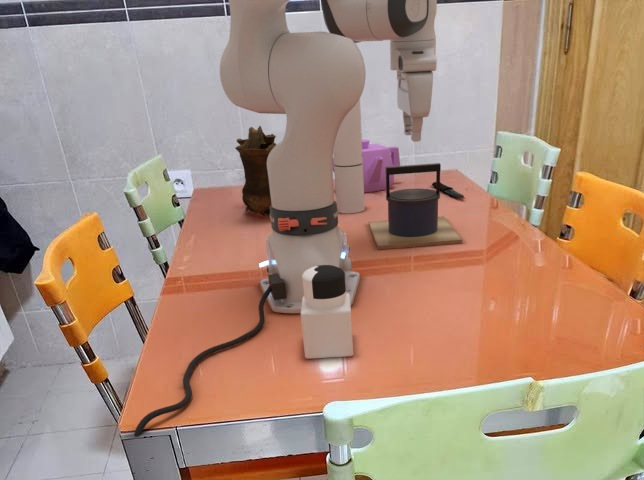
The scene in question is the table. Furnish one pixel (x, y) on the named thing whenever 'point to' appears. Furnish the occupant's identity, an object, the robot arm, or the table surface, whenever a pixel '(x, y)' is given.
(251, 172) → the pottery vessel
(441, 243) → the cutting board
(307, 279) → the medicine bottle
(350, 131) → the cylindrical container
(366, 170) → the teakettle
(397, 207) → the pot
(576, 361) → the table surface
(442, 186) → the knife
